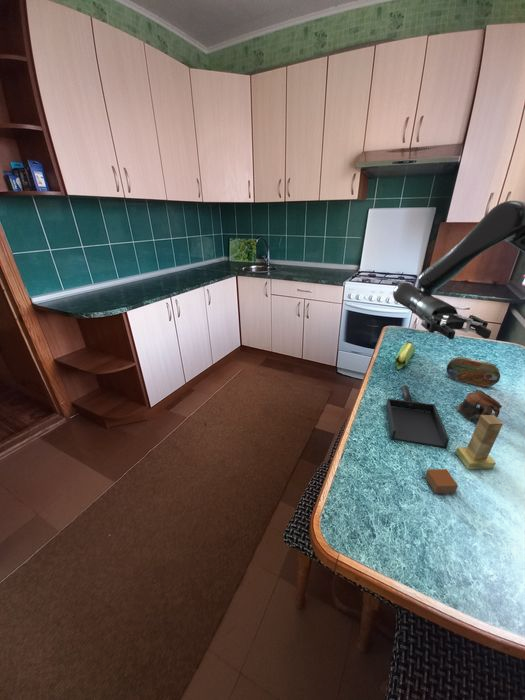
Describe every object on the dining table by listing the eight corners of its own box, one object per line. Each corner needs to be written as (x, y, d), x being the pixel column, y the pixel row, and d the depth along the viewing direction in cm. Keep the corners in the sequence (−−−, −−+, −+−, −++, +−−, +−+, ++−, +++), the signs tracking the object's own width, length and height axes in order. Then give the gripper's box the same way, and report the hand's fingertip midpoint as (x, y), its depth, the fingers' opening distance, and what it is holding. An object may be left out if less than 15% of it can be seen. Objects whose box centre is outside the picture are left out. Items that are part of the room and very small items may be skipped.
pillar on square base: (478, 452, 73) (497, 411, 67) (492, 468, 69) (513, 426, 63) (455, 452, 73) (471, 412, 67) (467, 469, 69) (486, 427, 63)
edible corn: (415, 351, 122) (418, 342, 120) (404, 372, 108) (407, 361, 106) (402, 348, 125) (404, 339, 123) (390, 368, 110) (392, 358, 108)
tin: (443, 377, 104) (450, 356, 100) (444, 373, 107) (451, 353, 103) (495, 390, 97) (504, 368, 93) (495, 386, 99) (503, 364, 95)
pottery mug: (450, 403, 92) (469, 383, 89) (478, 421, 90) (498, 401, 87) (463, 419, 80) (485, 396, 78) (495, 439, 79) (519, 417, 76)
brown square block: (443, 476, 67) (446, 469, 66) (455, 493, 63) (458, 485, 62) (424, 476, 67) (427, 469, 66) (434, 493, 63) (437, 486, 62)
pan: (446, 448, 75) (449, 439, 73) (391, 439, 78) (393, 430, 76) (424, 393, 96) (426, 385, 94) (382, 388, 99) (383, 380, 97)
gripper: (413, 300, 82) (445, 321, 68) (463, 299, 82) (506, 320, 68) (407, 324, 86) (437, 349, 71) (455, 324, 86) (495, 348, 71)
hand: (471, 335), depth 69 cm, fingers open, 8 cm apart
